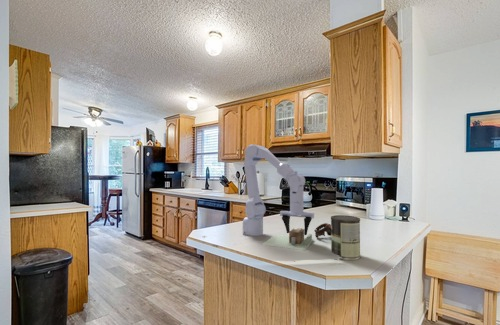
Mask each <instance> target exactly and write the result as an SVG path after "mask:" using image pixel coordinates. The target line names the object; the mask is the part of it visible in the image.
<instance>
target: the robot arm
mask: <svg viewBox="0 0 500 325" xmlns="http://www.w3.org/2000/svg"><path fill="white" fill-rule="evenodd" d="M244 153H245V154H244V155H245V156H244V161H243V165H244V174H245V181H246V188H247V195H248V196H247V197H248V199H247V200H246V202H245V210H244V212H245V217H244V218H243V220H242V235H246V236H251V237H259V236H263V235H264V215H265V214H266V212H267V208H266V205H265V203H264V199H262V198H261V195H260V190H259V189H260V188H259V182H258V175H257V169H256V168H257V167H256V165H257V164H258V162H260V161H261V160H262V159H264V160H266V161H267V162H268V163H269V164H271V165H272V166H273V167H274V168H276V172H277V173H278V175H280V176H281V177H282V178H283V179H284V180H285V181H286V182H287V185H288V186H289V210H280V211H279V216H280V217H281V220H282V222H283V225H284V227H285V231H286V234H289V232H290V231H291V230H290V228H291V227H290V220H291V217H297V218H303V221H304V223H303V224H304V228H303V229H304V236H308V232H309V227H310V223H311V221H312V219H314V218H315V213H314V212H307V211H304V186H305V184H306V178H305V176H304V175H303V174H302V173H299V172H298V171H297V170H294V168H292V167H291V164H290V163H286V162H281V161H280V160H279V159H278V158H277V157H276V155H274V154H273V153H272V152H271V151H270V150H269V149H268V148H266V146H264V145H257V144H254V143H253V144H252V143H251V144H249V145H247V146H246V148H245V149H244Z"/></svg>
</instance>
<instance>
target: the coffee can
mask: <svg viewBox="0 0 500 325" xmlns="http://www.w3.org/2000/svg"><path fill="white" fill-rule="evenodd" d="M330 223H331V224H330V225H331V236H330V239H331V241H330V242H331V244H330V245H331V246H330V247H331V250H330V251H331V253H332V254H334V255H335V256H336V255H337V256H338V257H339V260H344V261H358V260H359V259H361V218H360V217H357V216H353V215H345V214H343V215H341V214H340V215H339V214H338V215H337V214H336V215H332V216H330Z"/></svg>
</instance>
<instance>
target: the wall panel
mask: <svg viewBox="0 0 500 325" xmlns="http://www.w3.org/2000/svg"><path fill="white" fill-rule="evenodd" d="M313 241H314V238H313V235H312V233H309V234H307V235H306V237H304V240H303V241H302V242H301V244H295V237H292V243H289V235H284V234H283V235H282V234H274V235H272V236H271V237H270V238H269V239H267V240H266V241H264V242H263V243H261V245H264V246H271V247H276V248H277V247H278V248H285V249H292V250H301V251H307V249H308V248H309V246H310V245H311V244H312V242H313Z"/></svg>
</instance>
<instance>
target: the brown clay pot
mask: <svg viewBox="0 0 500 325" xmlns="http://www.w3.org/2000/svg"><path fill="white" fill-rule="evenodd" d="M314 232H315V233H314V236H315V238H318V237H321V236H323V237H325V236H326V235H327V236H328V237H329V236H330V237H331V224H329V223H328V222H325V223H321V224H320V225H318V226H317V227H316V228H315V229H314ZM325 232H326V235H325Z"/></svg>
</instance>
